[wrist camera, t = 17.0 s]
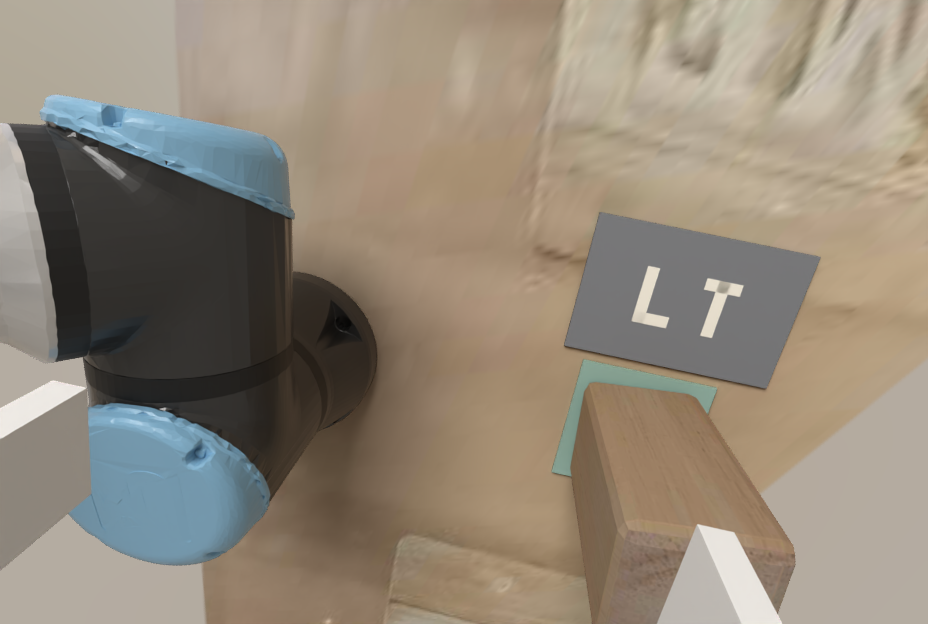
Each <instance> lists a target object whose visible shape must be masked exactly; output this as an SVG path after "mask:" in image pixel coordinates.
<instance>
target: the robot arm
mask: <svg viewBox="0 0 928 624" xmlns="http://www.w3.org/2000/svg"><path fill="white" fill-rule="evenodd" d="M40 117H41V120H44V121H45V122H46V124H44V125H27V124H8V123H0V343H4V344H8V345H10V346H12V347H14V348H16V349H18V350H20V351H22V352H24V353H26V354H28V355H29V356H31V357H33V358H36V359H37V360H39V361H41V362H43V363H53V362H58V361H63V360H69V359H74V358H79V357H83V362H84V368H85V375H86V383H87V388H84V387H80V386H76V385H71V384H67V383H62V382H57V381H53V380H52V381H51V382H49V383H47V384H45V385H43V386H41V387H39V388H37V389H36V390H34V391H32V392H30V393H28V394H26V395H24V396H22V397H21V398H19V399H17V400H15V401H13V402H11V403H9V404H7V405H6V406H4V407H2V408H0V570H2V569H3V568H4V567H5V566H6V565H7V564H9V563H10V562H11V561H12V560H14V559H15V558H16V557H17V556H18V555H19V554H20V553H22V552H23V551H24V550H25V549H27V548H28V547H29V546H30V545H31V544H33V543H34V542H35V541H36V540H37V539H38V538H40V537H41V536H42V535H43V534H44V533H45V532H47V531H48V530H49V529H50V528H51V527H53V526H54V525H55V524H56V523H57V522H58V521H60V520H61V519H62V518H63V517H65V516H66V515H67V514H69V515H70V516H71V517H72V519H74V521H75V522H76V523H78V524H79V525H80V526H81V527H82V528H83V529H84V530H85V531H86V532H88V533H89V534H91V535H93V536H95V537H96V538H98V539H99V540H100V541H101V542H103V543H104V544H105V545H107V546H109V547H110V548H112V549H114V550H116V551H118V552H120V553H123V554H125V555H128V556H130V557H133V558H136V559H139V560H143V561H147V562H151V563H156V564H163V565H191V564H198V563H202V562H206V561H209V560H212V559H214V558H217V557H219V556H220V555H221V554H222V553H226V552H227V551H228V550H229V549H231V548H233V547H234V546H235V545H236V544H237V543H238V542H239V541H240V540H241V539H242V538H243V537H244V536H245V534H246V533H247V532H248V531H249V530H250V529H251V528H252V526H253V525H254V524H255V523H256V522H257V521H259V520H260V519H261V518H262V517H263V515H264V513H265V512H266V511H267V510H268V509H267V507H268V506H269V502H270V501H271V499H272V498H273V496H274V495H275V493H276V492H277V490H278V489H279V487H280V486H281V484H282V483H283V481H284V480H285V478H286V477H287V475H288V474H289V472H290V471H291V469H292V468H293V466H294V465H295V463H296V462H297V461H298V459H299V458H300V456H301V455H302V453H303V452H304V450H305V449H306V447H307V446H308V444H309V443H310V441H311V440H312V438H313V437H314V435H315V433H317V432H318V431H320V430H322V429H324V428H327V427H330V426H332V425H334V424H336V423H337V422H339V421H341V420H342V419H344V418H345V417H346V416H348V415H349V414H350V413H351V412H352V411H353V410H354V409H355V408H356V407H357V405H358V404H359V403H360V401H361V400H362V398H363V397H364V395H365V393H366V392H367V390H368V388H369V387H370V384H371V382H372V380H373V377H374V373H375V369H376V361H377V353H376V344H375V339H374V335H373V332H372V330H371V327H370V325H369V323H368V321H367V319H366V317H365V315H364V314H363V312H362V311H361V309H360V308H359V307H358V306H357V304H356V303H355V302H354V301H353V300H352V299H351V298H350V297H349V296H348V295H347V294H346V293H345V292H343V291H342V290H341V289H339V288H338V287H336V286H335V285H333V284H331V283H330V282H328V281H326V280H324V279H321V278H319V277H316V276H313V275H309V274H305V273H300V272H293V262H292V219H295V213H294V211H293V210H292V209H291V204H290V189H289V175H288V163H287V159H286V157H285V154H284V153H283V151H282V149H281V148H280V147H279V145H278V144H276V143H275V142H274V141H273V140H271V139H270V138H268V137H267V136H265V135H262V134H259V133H255V132H251V131H247V130H242V129H237V128H232V127H227V126H223V125H217V124H212V123H207V122H202V121H197V120H192V119H187V118H182V117H176V116H171V115H165V114H160V113H155V112H149V111H144V110H139V109H133V108H125V107H122V106H116V105H111V104H105V103H100V102H95V101H91V100H86V99H80V98H74V97H68V96H62V95H50V96H48V97H47V98H46V99H45V103H44V107H43V108H42V110H41V111H40ZM87 389H88V396H89V406H88V403H87ZM657 624H782V622H781V620H780V618H779V616H778V614H777V612H776V610H775V609H774V607H773V605H772V603H771V601H770V599H769V597H768V595H767V593H766V591H765V590H764V588H763V586H762V584H761V582H760V580H759V578H758V576H757V574H756V573H755V571H754V569H753V567H752V565H751V563H750V561H749V559H748V557H747V556H746V554H745V552H744V550H743V548H742V546H741V544H740V542H739V540H738V538H737V537H736V535H735V533H734V532H730V531H726V530H721V529H717V528H712V527H708V526H703V525H699V524H697V526H696V528H695V531H694V533H693V536H692V538H691V540H690V543H689V545H688V548H687V550H686V553H685V555H684V558H683V560H682V563H681V565H680V568H679V570H678V573H677V575H676V578H675V580H674V582H673V585H672V587H671V590H670V592H669V595H668V597H667V600H666V602H665V605H664V607H663V610H662V612H661V615H660V617H659V620H658V622H657Z"/></svg>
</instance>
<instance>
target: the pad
mask: <svg viewBox="0 0 928 624" xmlns="http://www.w3.org/2000/svg"><path fill="white" fill-rule="evenodd" d="M593 382H600V383H608V384H616V385H623V386H631V387H639V388H646V389H654V390H662V391H670V392H677V393H685V394H690V395H692V396H694V397H695V398H697V399H698V401H699V402H700V404H701V405H702V407H703V408H704V410H705V411H706V413H707V414H708V412H709V409H710V407H711V404H712V401H713V399H714V396H715V393H716V391H717V388H716V387H711V386H707V385H702V384H697V383H693V382H688V381H683V380H679V379H674V378H669V377H665V376H660V375H655V374H651V373H646V372H641V371H636V370H632V369H627V368H622V367H618V366H613V365H608V364H604V363H599V362H594V361H590V360H585V359H583V362H582V366H581V369H580V373H579V376H578V380H577V383H576V387H575V390H574V394H573V397H572V401H571V404H570V408H569V411H568V415H567V418H566V422H565V425H564V429H563V432H562V436H561V439H560V443H559V447H558V450H557V454H556V457H555V461H554V464H553V468H552V472H553V473H558V474H562V475H567V476H571V470H570V466H571V460H572V455H573V450H574V444H575V439H576V433H577V428H578V423H579V417H580V412H581V406H582V401H583V396H584V391H585V389H586V388H587V386H588V385H589V383H593Z"/></svg>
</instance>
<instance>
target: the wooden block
mask: <svg viewBox="0 0 928 624" xmlns="http://www.w3.org/2000/svg"><path fill="white" fill-rule="evenodd" d="M570 470H571V477H572V484H573V491H574V498H575V505H576V512H577V519H578V526H579V533H580V540H581V547H582V554H583V561H584V568H585V575H586V582H587V589H588V596H589V603H590V610H591V617H592V624H657V622H658V620H659V617H660V615H661V612H662V610H663V607H664V605H665V602H666V600H667V597H668V595H669V592H670V590H671V587H672V585H673V582H674V580H675V578H676V575H677V573H678V570H679V568H680V565H681V563H682V560H683V558H684V555H685V553H686V550H687V548H688V545H689V543H690V540H691V538H692V536H693V533H694V531H695V528H696V526H697V524H699V525H703V526H708V527H712V528H717V529H721V530H726V531H730V532H734V533H735V535H736V537H737V538H738V540H739V542H740V544H741V546H742V548H743V550H744V552H745V554H746V556H747V557H748V559H749V561H750V563H751V565H752V567H753V569H754V571H755V573H756V574H757V576H758V578H759V580H760V582H761V584H762V586H763V588H764V590H765V591H766V593H767V595H768V597H769V599H770V601H771V603H772V605H773V607H774V609H775V610H776V612H777V614H778V611H779V608H780V606H781V603H782V600H783V597H784V595H785V592H786V589H787V586H788V584H789V581H790V578H791V575H792V573H793V570H794V567H795V553H794V547H793V544H792V543H791V542H790V540H789V538H788V537H787V535H786V534H785V532H784V531H783V529H782V528H781V526H780V525H779V523H778V521H777V520H776V518H775V517H774V515H773V514H772V512H771V511H770V509H769V508H768V506H767V505H766V503H765V502H764V500H763V499H762V497H761V495H760V494H759V492H758V491H757V489H756V488H755V486H754V485H753V483H752V482H751V480H750V479H749V477H748V476H747V474H746V473H745V471H744V469H743V468H742V466H741V465H740V463H739V462H738V460H737V459H736V457H735V456H734V454H733V453H732V451H731V450H730V448H729V446H728V445H727V443H726V442H725V440H724V439H723V437H722V436H721V434H720V433H719V431H718V430H717V428H716V427H715V425H714V424H713V422H712V420H711V419H710V417H709V416H708V414H707V413H706V411H705V410H704V408H703V407H702V405H701V404H700V402H699V401H698V399H697V398H695V397H694V396H692V395H690V394H685V393H677V392H670V391H662V390H654V389H646V388H639V387H631V386H623V385H616V384H608V383H600V382H593V383H589V385H588V386H587V388H586V389H585V391H584V396H583V401H582V406H581V412H580V417H579V423H578V428H577V433H576V439H575V444H574V450H573V455H572V460H571V466H570Z"/></svg>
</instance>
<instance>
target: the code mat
mask: <svg viewBox="0 0 928 624" xmlns="http://www.w3.org/2000/svg"><path fill="white" fill-rule="evenodd" d="M820 258H821V257H818V256H813V255H808V254H804V253H799V252H794V251H789V250H784V249H779V248H774V247H769V246H764V245H759V244H754V243H750V242H745V241H740V240H735V239H730V238H725V237H720V236H715V235H710V234H705V233H700V232H696V231H691V230H686V229H681V228H676V227H671V226H666V225H661V224H656V223H651V222H647V221H642V220H637V219H632V218H627V217H622V216H617V215H612V214H607V213H602V212H600V213H599V217H598V221H597V225H596V228H595V232H594V236H593V239H592V243H591V247H590V251H589V254H588V258H587V262H586V265H585V269H584V273H583V277H582V280H581V284H580V288H579V291H578V295H577V299H576V302H575V306H574V310H573V314H572V317H571V321H570V325H569V328H568V332H567V336H566V340H565V343H564V346H569V347H573V348H578V349H583V350H587V351H592V352H597V353H601V354H606V355H611V356H615V357H620V358H625V359H630V360H634V361H639V362H644V363H648V364H653V365H658V366H662V367H667V368H672V369H676V370H681V371H686V372H691V373H695V374H700V375H705V376H709V377H714V378H719V379H723V380H728V381H733V382H738V383H742V384H747V385H752V386H756V387H761V388H767V386H768V383H769V381H770V379H771V376H772V374H773V371H774V369H775V366H776V364H777V362H778V359H779V357H780V354H781V352H782V350H783V347H784V345H785V342H786V340H787V337H788V335H789V333H790V330H791V328H792V325H793V323H794V321H795V318H796V316H797V313H798V311H799V308H800V306H801V304H802V301H803V299H804V296H805V294H806V292H807V289H808V287H809V284H810V282H811V279H812V277H813V275H814V272H815V270H816V267H817V265H818V263H819V260H820Z"/></svg>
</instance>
